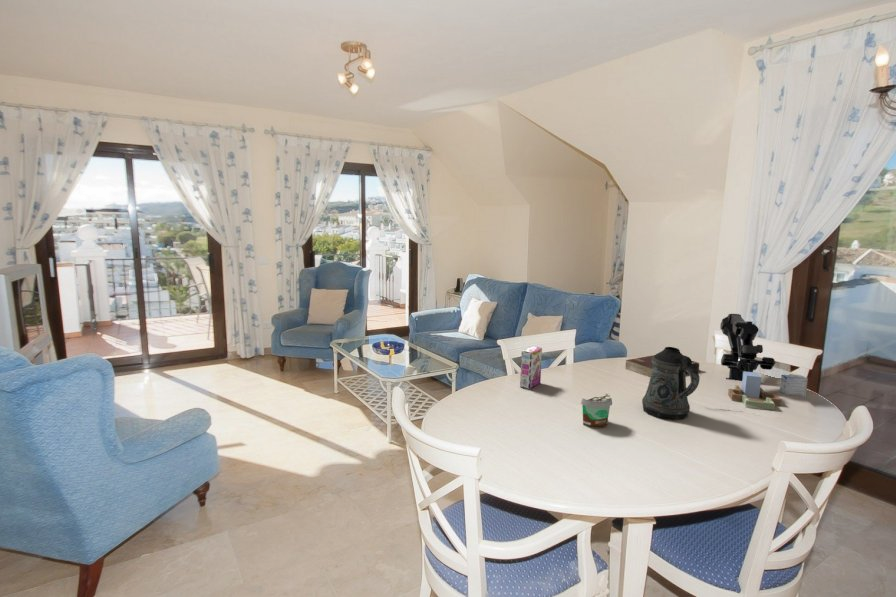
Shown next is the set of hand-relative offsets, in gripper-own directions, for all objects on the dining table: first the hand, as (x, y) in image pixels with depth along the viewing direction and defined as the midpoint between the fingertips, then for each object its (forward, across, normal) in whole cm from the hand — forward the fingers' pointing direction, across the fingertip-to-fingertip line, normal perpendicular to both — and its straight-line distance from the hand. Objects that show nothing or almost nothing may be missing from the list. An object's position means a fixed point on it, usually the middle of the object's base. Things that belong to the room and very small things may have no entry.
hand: (749, 379), depth 198 cm
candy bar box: (+18, -87, -7) cm, 89 cm away
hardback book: (-14, -31, +25) cm, 42 cm away
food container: (+42, -56, -31) cm, 77 cm away
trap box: (+11, 0, -1) cm, 11 cm away
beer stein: (+27, -32, -16) cm, 45 cm away
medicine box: (0, +18, +10) cm, 20 cm away
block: (+6, 0, +2) cm, 7 cm away
